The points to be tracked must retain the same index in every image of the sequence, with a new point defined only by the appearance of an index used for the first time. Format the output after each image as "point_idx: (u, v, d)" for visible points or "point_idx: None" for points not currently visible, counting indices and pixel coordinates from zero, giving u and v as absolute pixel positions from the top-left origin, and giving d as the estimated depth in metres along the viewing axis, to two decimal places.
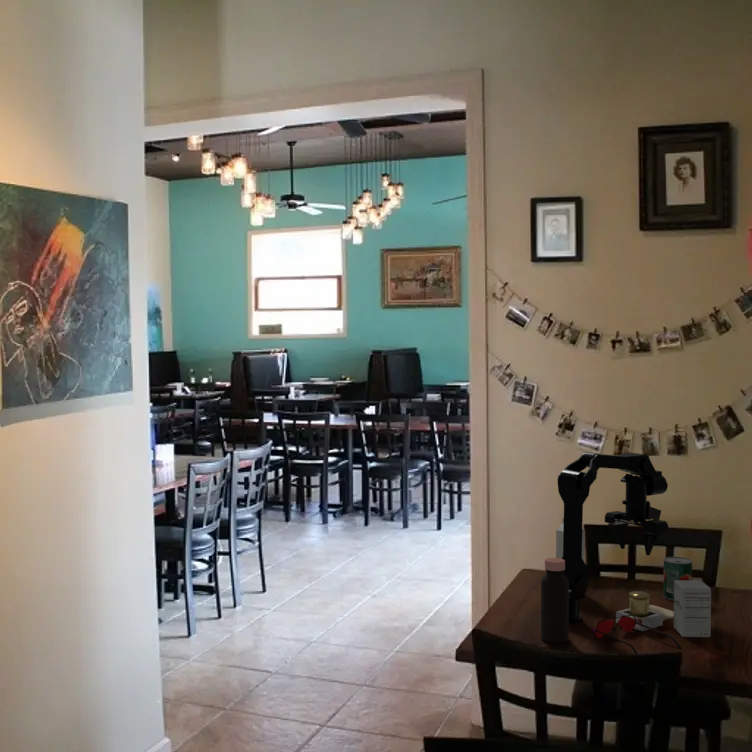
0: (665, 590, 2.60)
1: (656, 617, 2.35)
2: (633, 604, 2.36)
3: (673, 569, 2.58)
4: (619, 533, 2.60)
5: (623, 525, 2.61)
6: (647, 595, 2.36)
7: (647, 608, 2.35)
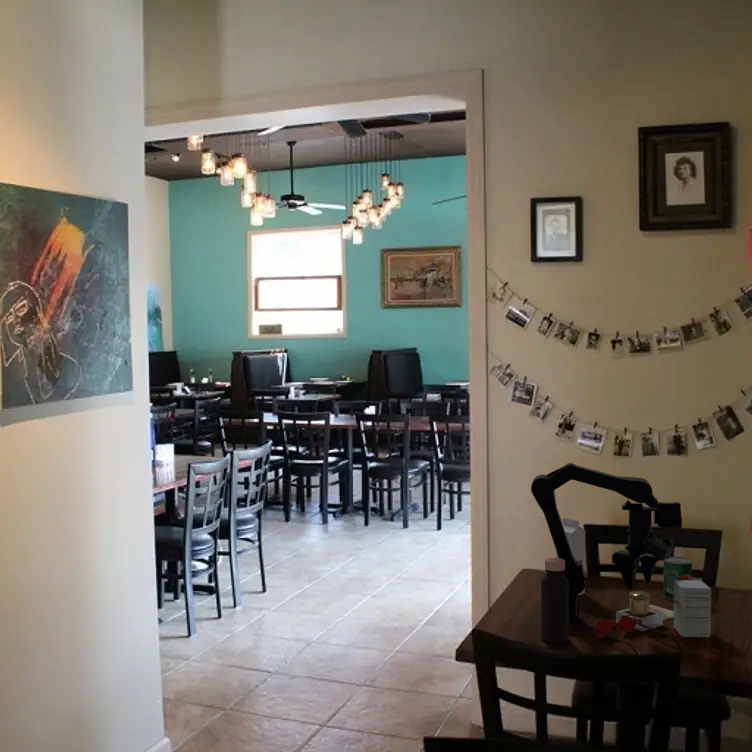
0: (665, 590, 2.60)
1: (656, 617, 2.35)
2: (633, 604, 2.36)
3: (673, 569, 2.58)
4: (644, 564, 2.41)
5: (651, 558, 2.40)
6: (647, 595, 2.36)
7: (647, 608, 2.35)
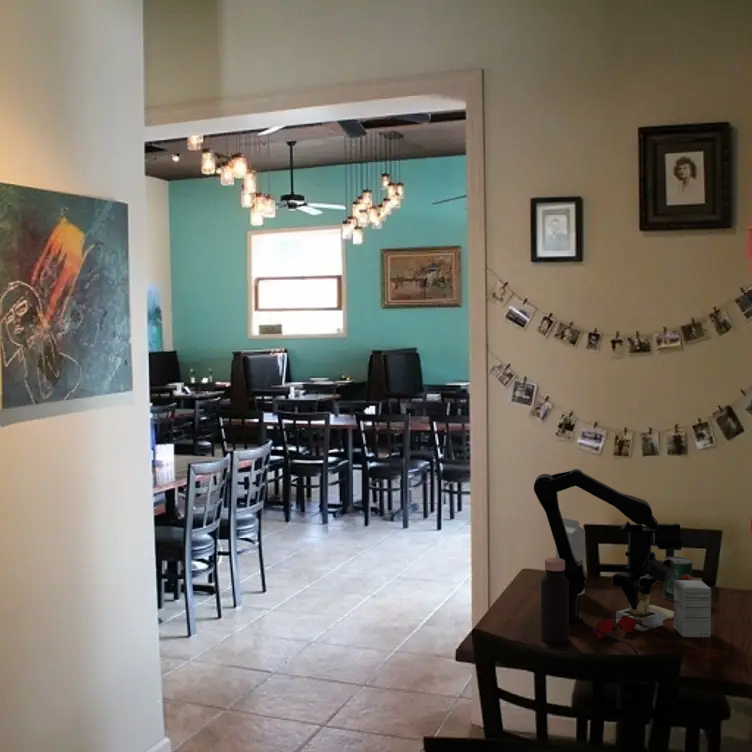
0: (665, 590, 2.60)
1: (656, 617, 2.35)
2: None
3: None
4: None
5: (647, 580, 2.39)
6: (647, 595, 2.36)
7: (647, 608, 2.35)
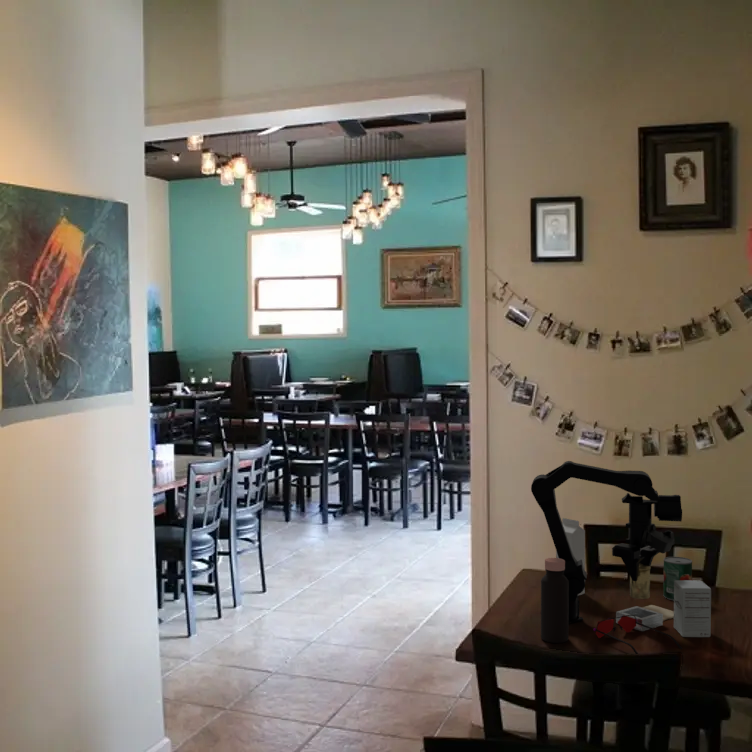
0: (665, 590, 2.60)
1: (656, 617, 2.35)
2: None
3: (673, 569, 2.58)
4: None
5: (648, 552, 2.38)
6: (647, 567, 2.35)
7: (648, 580, 2.35)
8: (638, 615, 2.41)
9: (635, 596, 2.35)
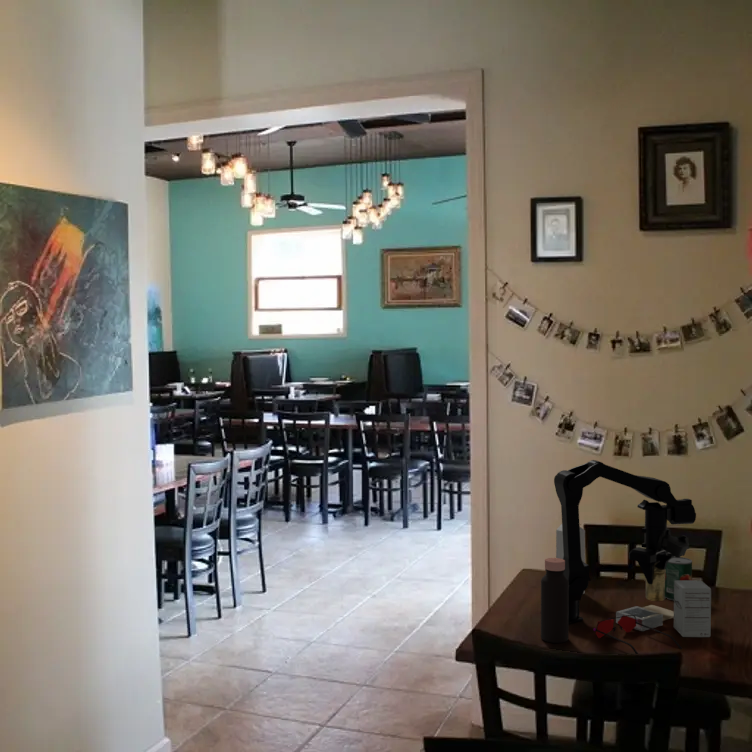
0: (665, 590, 2.60)
1: (656, 617, 2.35)
2: None
3: (673, 569, 2.58)
4: None
5: (663, 556, 2.47)
6: (663, 570, 2.44)
7: (663, 582, 2.44)
8: (638, 615, 2.41)
9: (651, 598, 2.44)
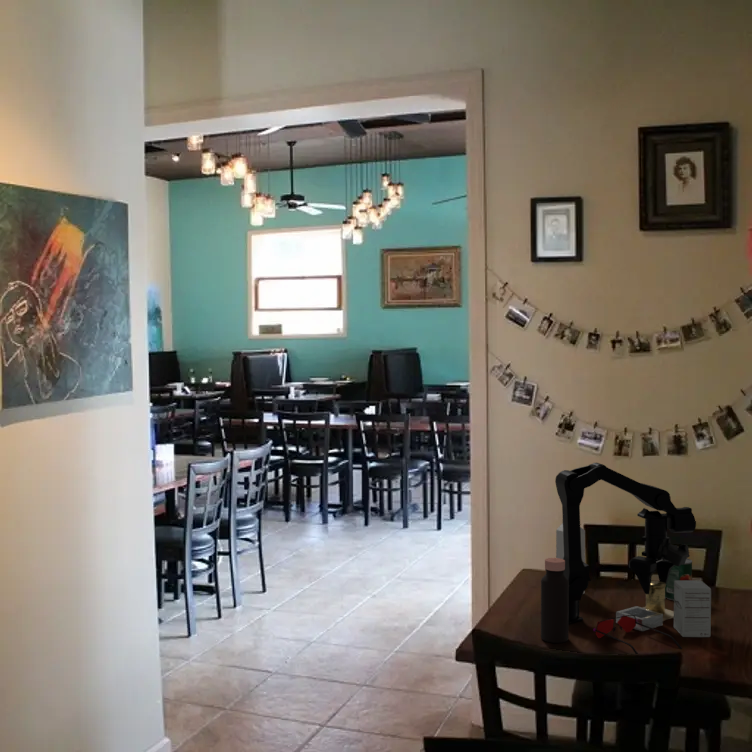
0: (665, 590, 2.60)
1: (656, 617, 2.35)
2: (649, 593, 2.44)
3: (673, 569, 2.58)
4: (660, 569, 2.50)
5: (666, 563, 2.49)
6: (663, 584, 2.44)
7: (663, 597, 2.44)
8: (638, 615, 2.41)
9: None
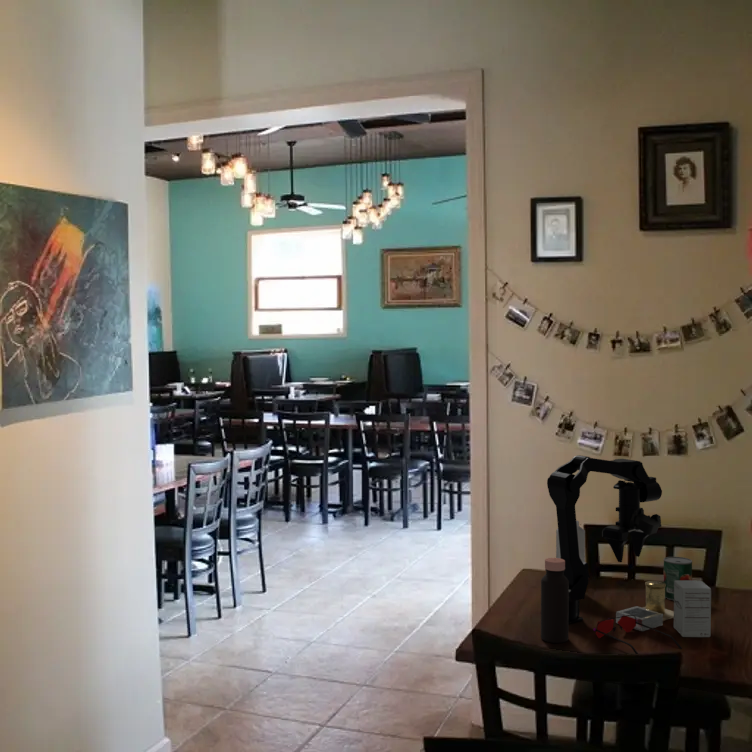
0: (665, 590, 2.60)
1: (656, 617, 2.35)
2: (649, 593, 2.44)
3: (673, 569, 2.58)
4: (634, 539, 2.58)
5: (640, 533, 2.57)
6: (663, 584, 2.44)
7: (663, 597, 2.44)
8: (638, 615, 2.41)
9: None
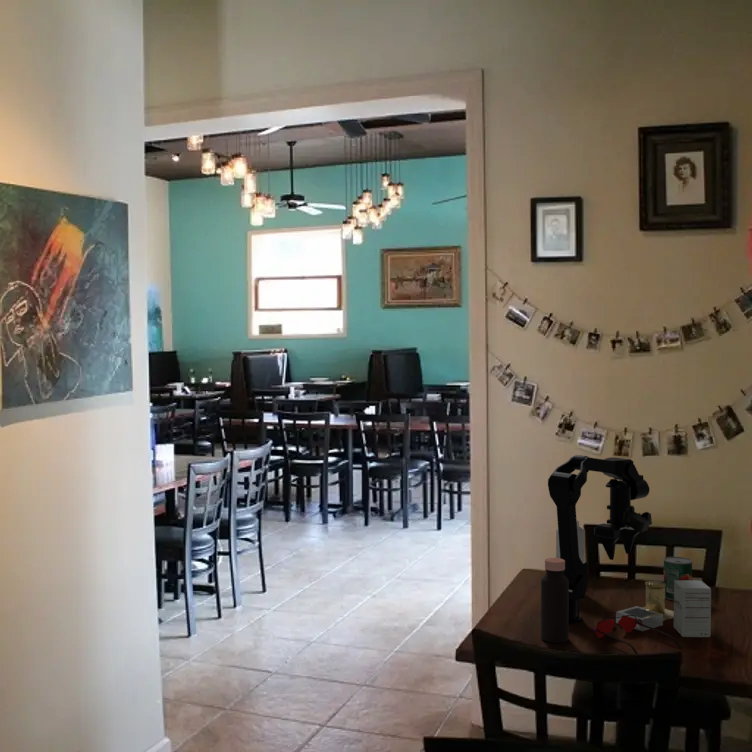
0: (665, 590, 2.60)
1: (656, 617, 2.35)
2: (649, 593, 2.44)
3: (673, 569, 2.58)
4: (624, 537, 2.61)
5: (631, 531, 2.59)
6: (663, 584, 2.44)
7: (663, 597, 2.44)
8: (638, 615, 2.41)
9: None
